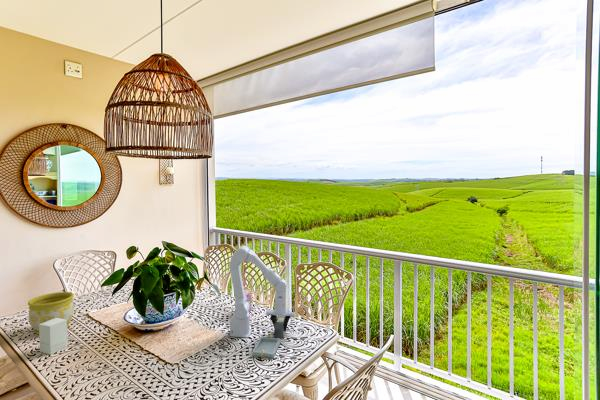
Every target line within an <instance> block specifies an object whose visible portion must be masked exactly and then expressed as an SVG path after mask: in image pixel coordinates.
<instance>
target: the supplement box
mask: <svg viewBox="0 0 600 400" xmlns="http://www.w3.org/2000/svg"><path fill="white" fill-rule="evenodd" d="M38 335H39V337H38V338H39V352H40V353H44V354H47V355H53V354H54V353H57V352H60V351H62V350H63V349H66V348H67V347H68V346H69V345H68V340H69V339H68V326H67V320H65V319H60V318H54V319H52V320H49V321H47V322H44V323H41V324H39V334H38Z"/></svg>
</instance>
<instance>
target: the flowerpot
mask: <svg viewBox="0 0 600 400" xmlns="http://www.w3.org/2000/svg"><path fill="white" fill-rule="evenodd" d="M74 295H75V294H74V293H73V292H72V291H71V292H70V291H57V292H51V293H45V294H42V295H38V296H35V297H33V298H31V299H30V300H28V301H27V305H28V306H29V307H28V309H29V310H28V323H29V325H30V326H31V328H32V329H34V330H33V332H34V333H35V334H36V335H39V324H41V323H44V322H47V321H49V320H52V319H54V318H60V319H65V320H67V327H68V326H69V325H70V324H71V322H70V321H71V319H72V318H73V315H74V312H75V306H74V305H75V304H74Z"/></svg>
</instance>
